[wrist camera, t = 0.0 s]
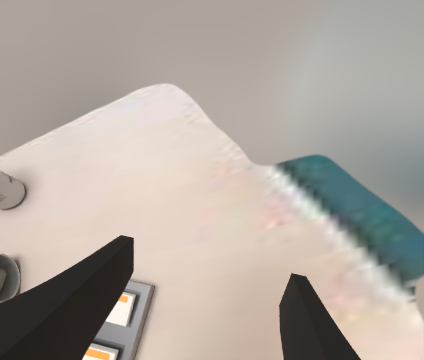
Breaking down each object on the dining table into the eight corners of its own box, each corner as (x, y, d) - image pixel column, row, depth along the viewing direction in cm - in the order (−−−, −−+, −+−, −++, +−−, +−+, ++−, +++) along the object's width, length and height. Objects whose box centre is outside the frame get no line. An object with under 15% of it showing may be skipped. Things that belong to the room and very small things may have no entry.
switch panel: (105, 457, 32) (95, 473, 29) (22, 431, 33) (5, 444, 30) (154, 286, 40) (150, 286, 37) (87, 270, 41) (78, 268, 38)
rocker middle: (111, 381, 32) (106, 388, 31) (49, 364, 33) (42, 370, 32) (119, 349, 33) (115, 354, 32) (59, 333, 34) (52, 337, 33)
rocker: (129, 323, 35) (125, 326, 34) (72, 308, 36) (66, 311, 35) (136, 294, 36) (133, 296, 35) (80, 280, 37) (75, 282, 36)
